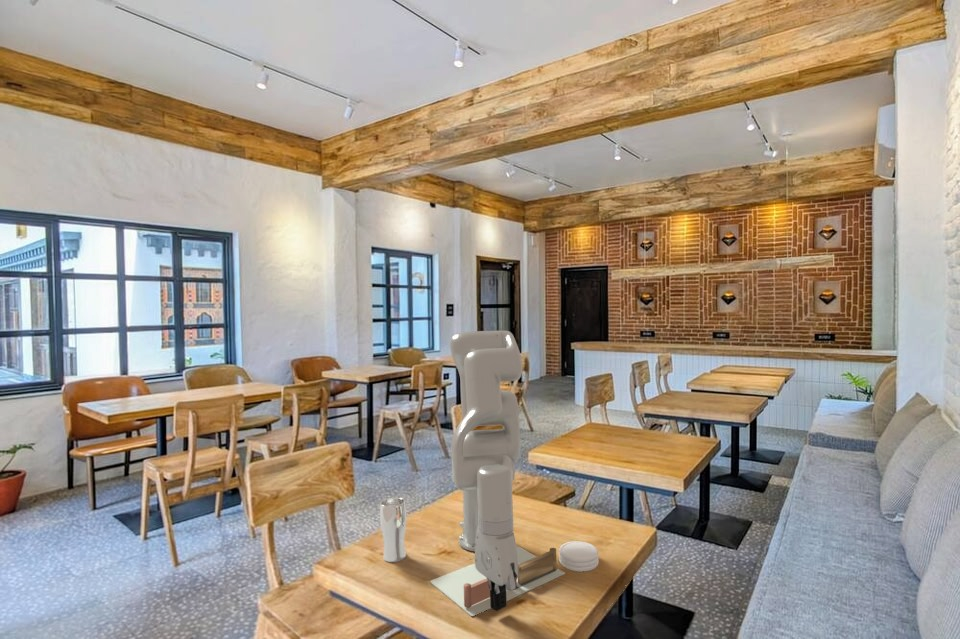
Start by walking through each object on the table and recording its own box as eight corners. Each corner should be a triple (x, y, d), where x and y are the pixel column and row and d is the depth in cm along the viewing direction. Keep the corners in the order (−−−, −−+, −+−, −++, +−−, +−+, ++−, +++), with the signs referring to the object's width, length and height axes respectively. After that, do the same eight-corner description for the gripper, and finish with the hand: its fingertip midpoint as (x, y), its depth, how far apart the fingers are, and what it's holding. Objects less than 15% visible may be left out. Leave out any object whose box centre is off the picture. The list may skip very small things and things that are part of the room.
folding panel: (513, 582, 124) (513, 563, 124) (518, 585, 122) (517, 566, 122) (462, 605, 115) (462, 585, 115) (466, 608, 114) (466, 588, 114)
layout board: (429, 582, 127) (429, 580, 127) (518, 547, 143) (518, 545, 143) (472, 617, 112) (472, 615, 112) (564, 573, 128) (564, 572, 128)
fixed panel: (517, 583, 124) (516, 562, 124) (553, 566, 131) (553, 547, 131) (521, 586, 123) (520, 565, 123) (558, 569, 130) (557, 549, 130)
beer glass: (412, 553, 142) (410, 498, 141) (398, 565, 135) (396, 508, 135) (391, 548, 144) (389, 495, 144) (376, 560, 138) (374, 505, 138)
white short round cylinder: (552, 558, 137) (551, 545, 137) (584, 550, 141) (584, 537, 140) (572, 576, 128) (572, 562, 127) (606, 567, 131) (606, 553, 131)
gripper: (462, 517, 116) (464, 598, 116) (503, 541, 104) (506, 631, 104) (489, 508, 120) (491, 586, 121) (532, 530, 108) (534, 617, 109)
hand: (498, 607), depth 112 cm, fingers closed
